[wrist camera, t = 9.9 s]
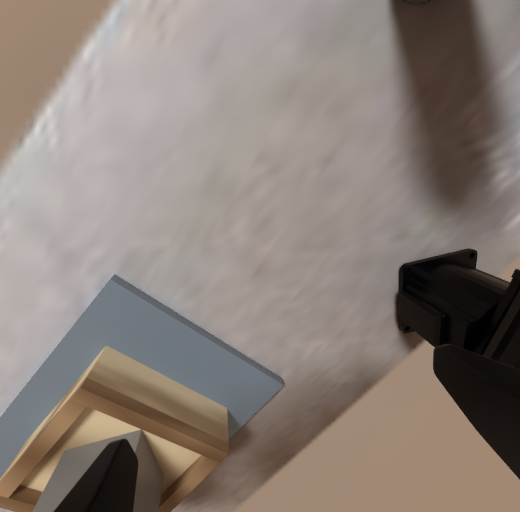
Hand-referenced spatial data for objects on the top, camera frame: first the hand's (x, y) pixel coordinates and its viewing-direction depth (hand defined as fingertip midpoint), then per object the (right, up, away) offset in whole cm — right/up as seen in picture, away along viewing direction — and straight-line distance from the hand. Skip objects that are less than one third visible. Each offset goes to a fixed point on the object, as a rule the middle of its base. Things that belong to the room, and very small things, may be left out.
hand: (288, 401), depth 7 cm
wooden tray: (-11, -10, +14) cm, 20 cm away
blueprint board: (-11, -9, +15) cm, 21 cm away
